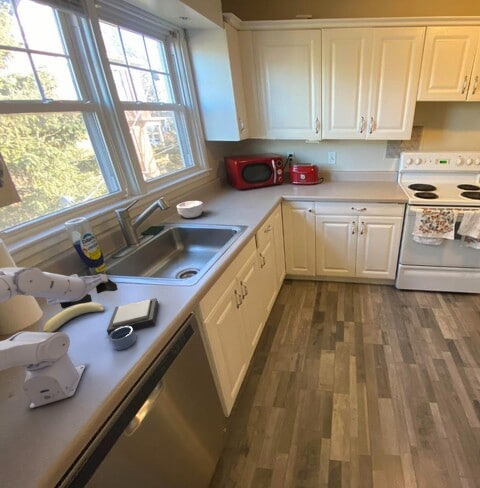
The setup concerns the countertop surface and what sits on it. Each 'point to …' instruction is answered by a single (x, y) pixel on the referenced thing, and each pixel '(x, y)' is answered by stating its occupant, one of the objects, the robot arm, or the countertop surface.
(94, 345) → the countertop surface
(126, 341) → the bowl
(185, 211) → the paper bowls
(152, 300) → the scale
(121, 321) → the platform
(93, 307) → the fruit
